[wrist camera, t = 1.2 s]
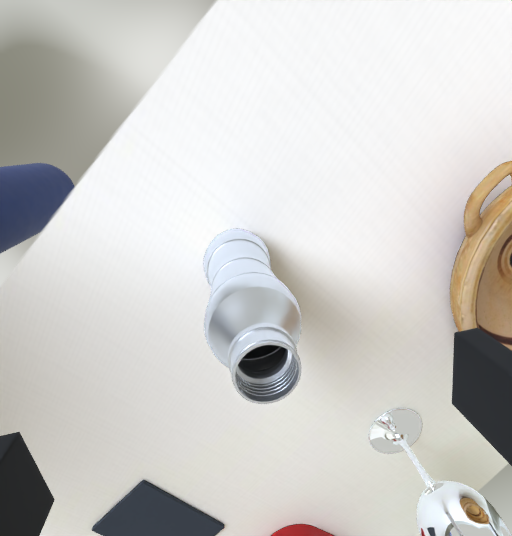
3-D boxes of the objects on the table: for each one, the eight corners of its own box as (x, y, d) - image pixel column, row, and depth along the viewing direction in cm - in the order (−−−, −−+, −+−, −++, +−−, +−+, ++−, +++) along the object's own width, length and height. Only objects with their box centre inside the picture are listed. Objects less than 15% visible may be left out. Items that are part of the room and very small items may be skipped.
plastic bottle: (268, 224, 36) (337, 312, 17) (263, 286, 38) (321, 424, 19) (203, 222, 35) (203, 313, 16) (203, 286, 37) (201, 430, 18)
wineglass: (369, 410, 46) (483, 594, 27) (425, 403, 47) (573, 575, 28) (365, 456, 48) (466, 652, 30) (418, 448, 49) (549, 633, 31)
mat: (92, 526, 46) (91, 530, 45) (143, 479, 44) (142, 483, 44) (175, 565, 50) (175, 569, 50) (224, 524, 49) (224, 527, 48)
